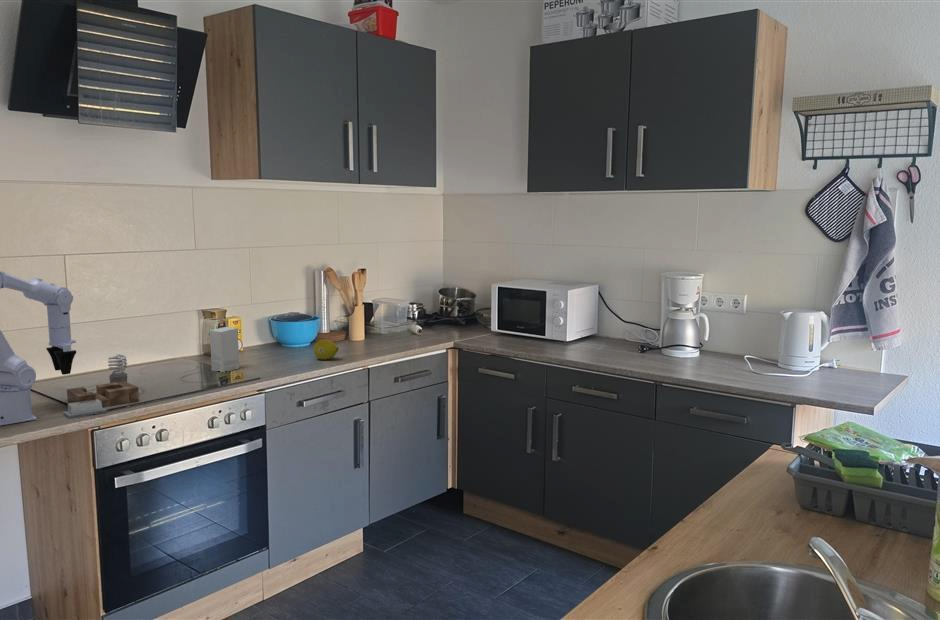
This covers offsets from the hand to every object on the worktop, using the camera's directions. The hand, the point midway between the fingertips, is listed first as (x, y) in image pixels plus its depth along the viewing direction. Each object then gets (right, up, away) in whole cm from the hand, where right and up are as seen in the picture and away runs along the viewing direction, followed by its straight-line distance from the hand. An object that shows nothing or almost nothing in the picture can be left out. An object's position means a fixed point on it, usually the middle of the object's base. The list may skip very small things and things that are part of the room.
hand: (62, 372), depth 224 cm
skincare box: (+31, -4, +53) cm, 62 cm away
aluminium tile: (+11, -11, -7) cm, 17 cm away
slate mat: (+11, -11, -7) cm, 17 cm away
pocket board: (+10, -10, +5) cm, 15 cm away
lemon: (+65, -1, +73) cm, 98 cm away
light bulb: (+7, -8, +21) cm, 24 cm away
